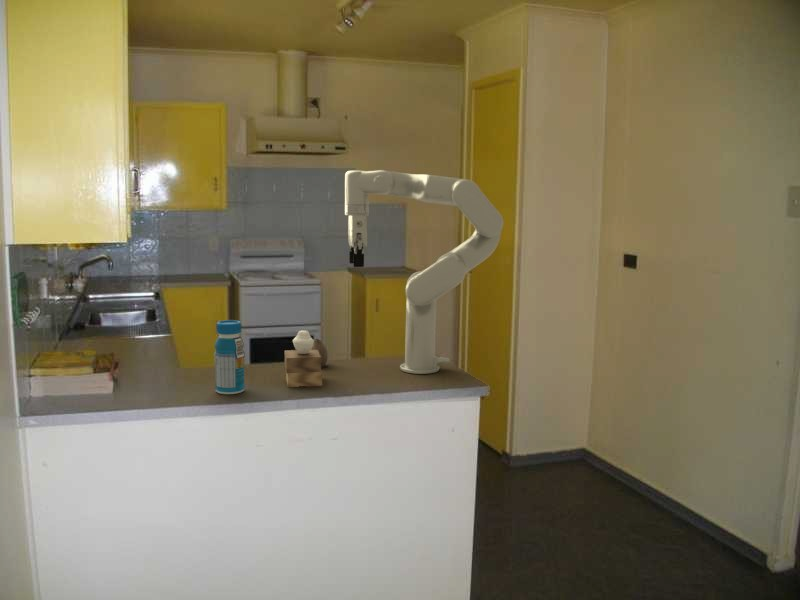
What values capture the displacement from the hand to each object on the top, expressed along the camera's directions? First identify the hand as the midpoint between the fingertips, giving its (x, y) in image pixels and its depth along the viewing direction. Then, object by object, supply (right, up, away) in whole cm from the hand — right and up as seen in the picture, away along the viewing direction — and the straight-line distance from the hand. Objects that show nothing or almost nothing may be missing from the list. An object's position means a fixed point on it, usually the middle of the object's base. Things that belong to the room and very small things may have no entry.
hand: (356, 265), depth 239 cm
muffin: (-15, -27, -14) cm, 34 cm away
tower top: (-15, -31, -13) cm, 37 cm away
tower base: (-15, -36, -13) cm, 41 cm away
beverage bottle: (-35, -37, -24) cm, 56 cm away
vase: (-13, -33, +7) cm, 36 cm away
